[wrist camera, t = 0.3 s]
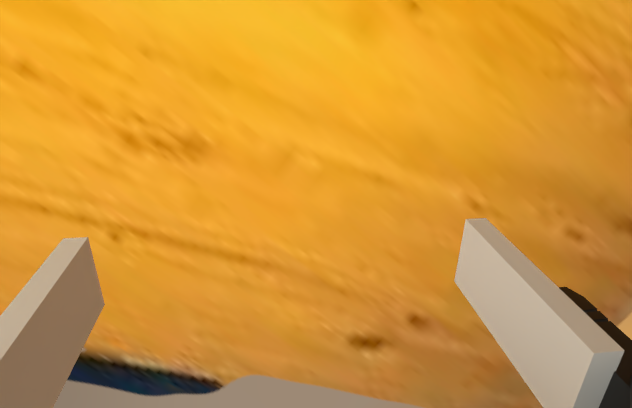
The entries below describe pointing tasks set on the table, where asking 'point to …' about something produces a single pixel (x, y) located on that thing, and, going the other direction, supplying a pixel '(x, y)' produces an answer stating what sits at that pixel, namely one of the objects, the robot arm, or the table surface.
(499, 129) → the table surface
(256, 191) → the table surface
